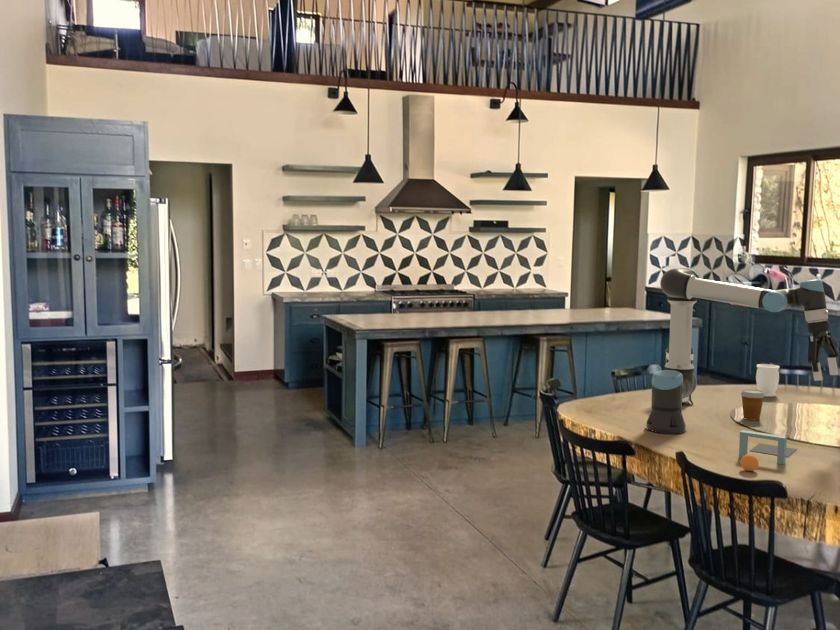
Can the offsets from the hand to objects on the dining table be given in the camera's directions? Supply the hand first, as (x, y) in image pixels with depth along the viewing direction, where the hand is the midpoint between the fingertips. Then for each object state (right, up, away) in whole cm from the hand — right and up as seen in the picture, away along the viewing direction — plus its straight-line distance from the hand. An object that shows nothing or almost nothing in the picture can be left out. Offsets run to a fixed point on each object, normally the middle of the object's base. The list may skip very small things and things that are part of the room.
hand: (826, 377), depth 284 cm
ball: (-42, -26, -31) cm, 58 cm away
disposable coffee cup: (-8, -21, +44) cm, 50 cm away
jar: (+21, -17, +95) cm, 99 cm away
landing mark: (-22, -26, -6) cm, 35 cm away
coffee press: (-30, -18, +77) cm, 85 cm away
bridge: (-32, -27, -18) cm, 46 cm away
